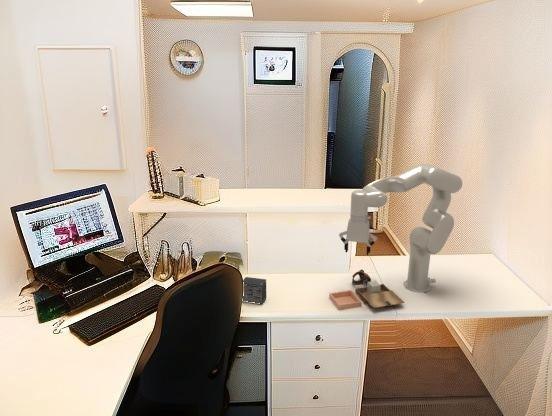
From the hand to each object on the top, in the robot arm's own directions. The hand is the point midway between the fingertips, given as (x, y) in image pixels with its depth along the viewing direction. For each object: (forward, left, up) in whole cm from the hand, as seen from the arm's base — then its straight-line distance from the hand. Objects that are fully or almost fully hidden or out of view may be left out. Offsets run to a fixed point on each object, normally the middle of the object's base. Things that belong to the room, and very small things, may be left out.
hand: (357, 252), depth 197 cm
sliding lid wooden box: (-10, +6, -24) cm, 26 cm away
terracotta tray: (+6, +3, -24) cm, 25 cm away
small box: (+46, -12, -24) cm, 54 cm away
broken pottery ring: (-10, -12, -24) cm, 28 cm away
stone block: (-10, +1, -23) cm, 25 cm away
